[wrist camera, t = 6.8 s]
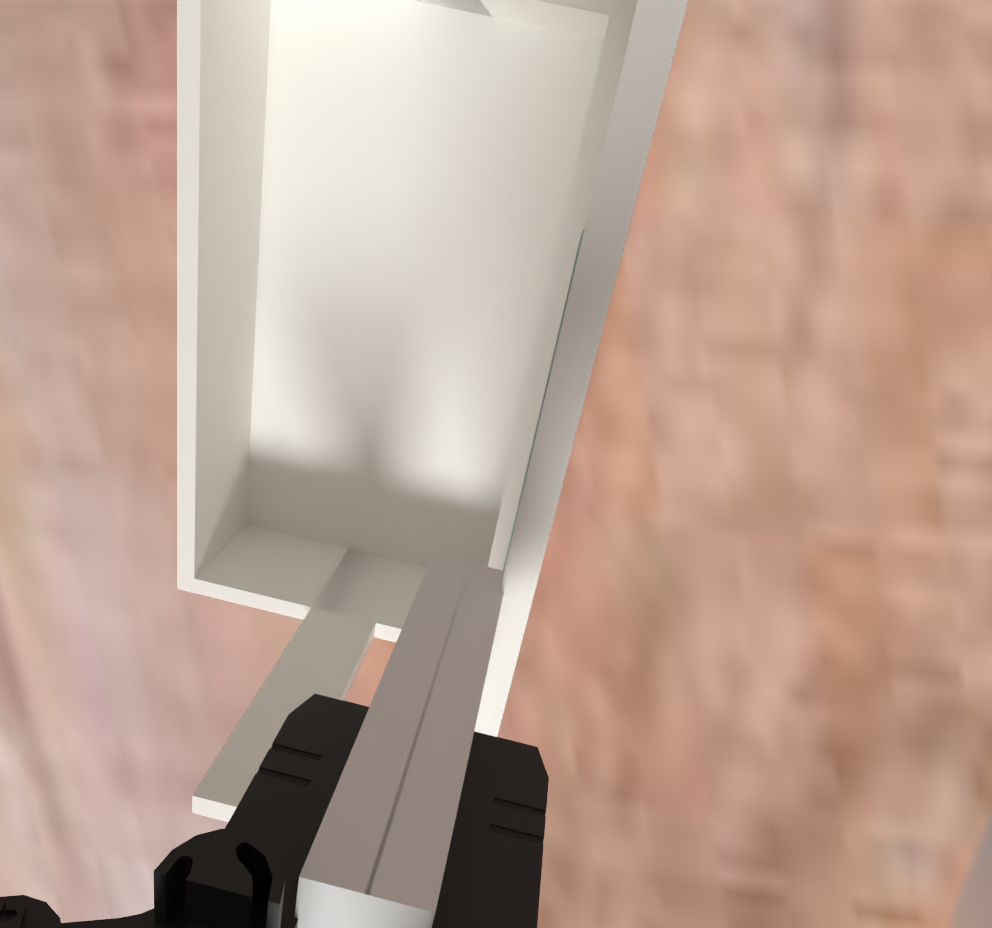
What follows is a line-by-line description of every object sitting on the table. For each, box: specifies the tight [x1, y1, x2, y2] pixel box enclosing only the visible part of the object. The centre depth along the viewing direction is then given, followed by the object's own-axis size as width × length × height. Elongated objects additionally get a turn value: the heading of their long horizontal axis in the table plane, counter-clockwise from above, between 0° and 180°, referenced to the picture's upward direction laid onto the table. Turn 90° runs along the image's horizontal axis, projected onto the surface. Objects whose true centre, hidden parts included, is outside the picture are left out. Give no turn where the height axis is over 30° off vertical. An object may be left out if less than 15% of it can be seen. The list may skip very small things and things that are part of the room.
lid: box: [474, 0, 688, 737], centre depth 20 cm, size 26×14×1 cm
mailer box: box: [177, 0, 638, 822], centre depth 25 cm, size 26×14×16 cm, turn 169°
